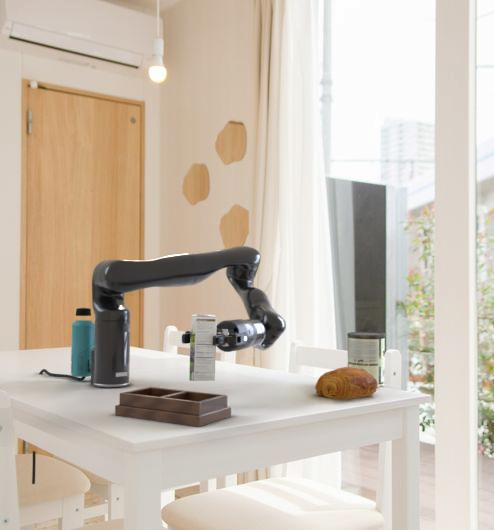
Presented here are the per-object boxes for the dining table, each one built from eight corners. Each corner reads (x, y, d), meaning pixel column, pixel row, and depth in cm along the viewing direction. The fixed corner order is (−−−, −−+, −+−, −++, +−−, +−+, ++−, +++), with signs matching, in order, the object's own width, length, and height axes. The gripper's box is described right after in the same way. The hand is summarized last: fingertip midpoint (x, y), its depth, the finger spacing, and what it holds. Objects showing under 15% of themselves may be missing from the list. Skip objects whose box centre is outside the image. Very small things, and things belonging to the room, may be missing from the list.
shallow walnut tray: (114, 415, 145) (115, 393, 145) (150, 406, 155) (150, 385, 155) (199, 426, 135) (199, 403, 135) (231, 416, 145) (231, 394, 145)
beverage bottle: (88, 382, 188) (89, 308, 188) (65, 381, 189) (67, 308, 189) (98, 379, 194) (100, 307, 194) (76, 378, 195) (77, 307, 196)
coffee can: (342, 381, 196) (343, 331, 196) (378, 381, 198) (378, 331, 198) (352, 387, 186) (353, 334, 186) (389, 387, 187) (390, 334, 188)
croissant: (386, 405, 172) (390, 373, 173) (341, 402, 163) (346, 368, 163) (345, 395, 184) (349, 365, 184) (301, 392, 174) (305, 360, 175)
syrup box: (189, 377, 160) (190, 314, 160) (215, 377, 160) (216, 314, 160) (189, 381, 154) (190, 315, 154) (216, 381, 154) (217, 315, 155)
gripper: (261, 352, 166) (225, 358, 152) (210, 348, 173) (171, 354, 159) (261, 320, 166) (225, 324, 152) (211, 318, 173) (172, 321, 159)
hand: (198, 339), depth 155 cm, fingers closed on syrup box, 7 cm apart
